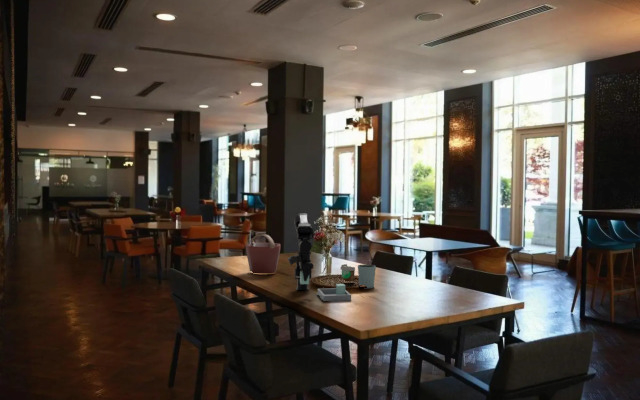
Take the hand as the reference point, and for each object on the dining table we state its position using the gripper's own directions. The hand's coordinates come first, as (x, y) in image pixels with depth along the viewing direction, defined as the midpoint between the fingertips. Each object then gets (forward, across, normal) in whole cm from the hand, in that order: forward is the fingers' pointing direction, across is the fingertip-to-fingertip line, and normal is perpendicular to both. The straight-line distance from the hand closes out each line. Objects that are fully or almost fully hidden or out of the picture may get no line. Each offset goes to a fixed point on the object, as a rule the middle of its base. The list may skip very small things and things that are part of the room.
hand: (304, 280), depth 258 cm
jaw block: (+2, 0, 0) cm, 2 cm away
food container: (+9, -36, +30) cm, 48 cm away
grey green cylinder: (+9, -23, +39) cm, 46 cm away
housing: (+9, +1, +15) cm, 18 cm away
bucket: (+9, -77, -15) cm, 79 cm away
